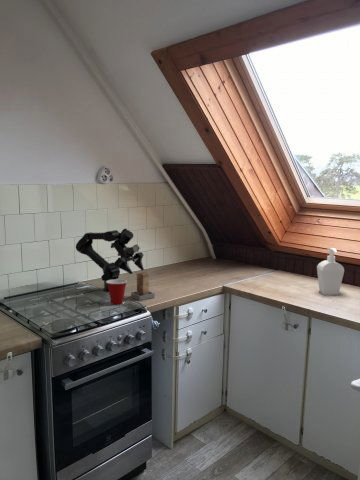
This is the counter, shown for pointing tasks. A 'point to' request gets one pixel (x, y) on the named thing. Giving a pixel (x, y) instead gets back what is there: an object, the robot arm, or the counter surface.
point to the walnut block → (142, 283)
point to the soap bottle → (330, 275)
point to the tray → (144, 297)
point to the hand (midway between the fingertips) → (137, 271)
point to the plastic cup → (116, 290)
